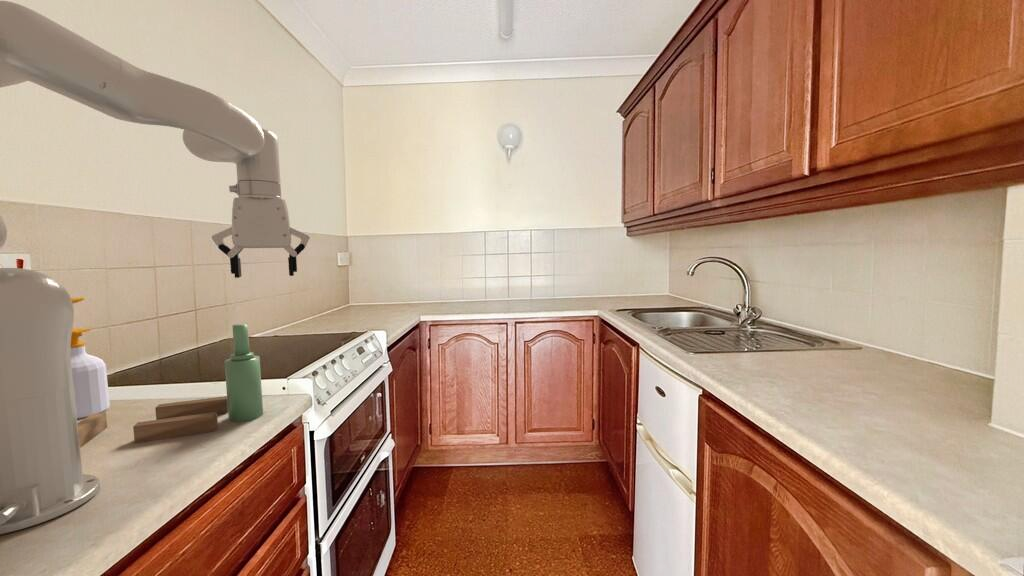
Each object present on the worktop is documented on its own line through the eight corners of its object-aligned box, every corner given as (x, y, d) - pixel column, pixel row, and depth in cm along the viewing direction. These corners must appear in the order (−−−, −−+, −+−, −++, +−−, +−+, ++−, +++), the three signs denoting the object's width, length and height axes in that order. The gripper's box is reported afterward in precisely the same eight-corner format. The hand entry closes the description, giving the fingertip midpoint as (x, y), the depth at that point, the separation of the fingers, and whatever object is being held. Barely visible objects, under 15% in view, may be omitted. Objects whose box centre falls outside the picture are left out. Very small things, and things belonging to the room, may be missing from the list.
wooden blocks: (215, 430, 79) (214, 415, 79) (59, 453, 71) (57, 436, 71) (229, 409, 90) (228, 395, 90) (96, 427, 82) (95, 412, 82)
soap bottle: (79, 421, 85) (66, 300, 83) (35, 421, 85) (21, 301, 83) (121, 405, 94) (111, 295, 92) (81, 405, 94) (70, 296, 92)
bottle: (260, 419, 85) (254, 326, 83) (225, 424, 82) (218, 328, 81) (265, 409, 90) (259, 321, 89) (232, 413, 88) (226, 323, 86)
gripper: (203, 187, 79) (210, 279, 80) (306, 192, 86) (311, 275, 87) (213, 193, 85) (219, 277, 87) (307, 196, 93) (312, 274, 94)
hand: (265, 276), depth 87 cm, fingers open, 9 cm apart
